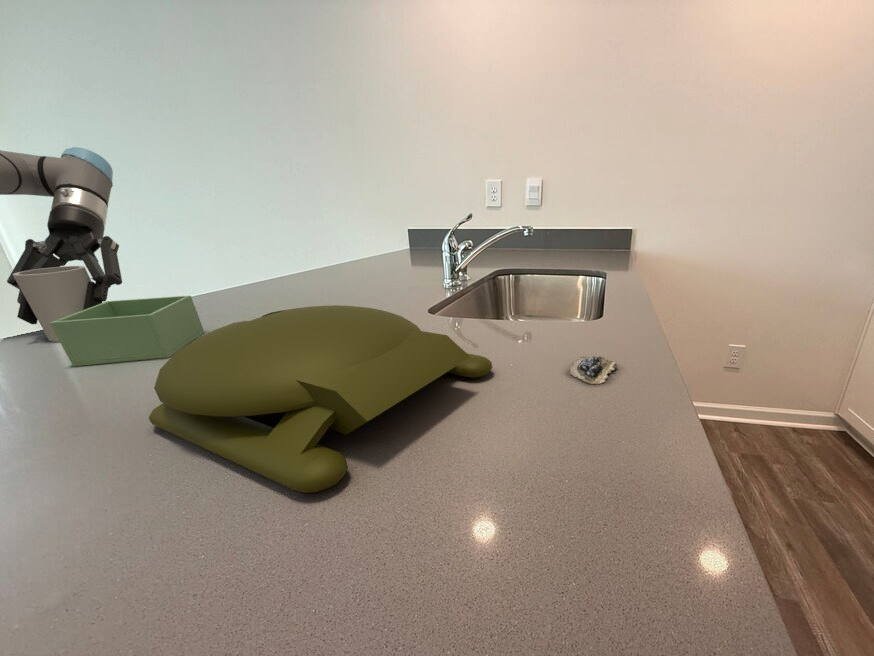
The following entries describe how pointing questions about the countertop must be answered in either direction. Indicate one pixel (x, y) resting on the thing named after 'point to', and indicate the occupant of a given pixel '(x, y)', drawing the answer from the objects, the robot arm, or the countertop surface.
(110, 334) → the bin
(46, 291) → the cup
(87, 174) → the robot arm
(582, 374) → the blueberries
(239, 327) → the spaceship
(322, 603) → the countertop surface
